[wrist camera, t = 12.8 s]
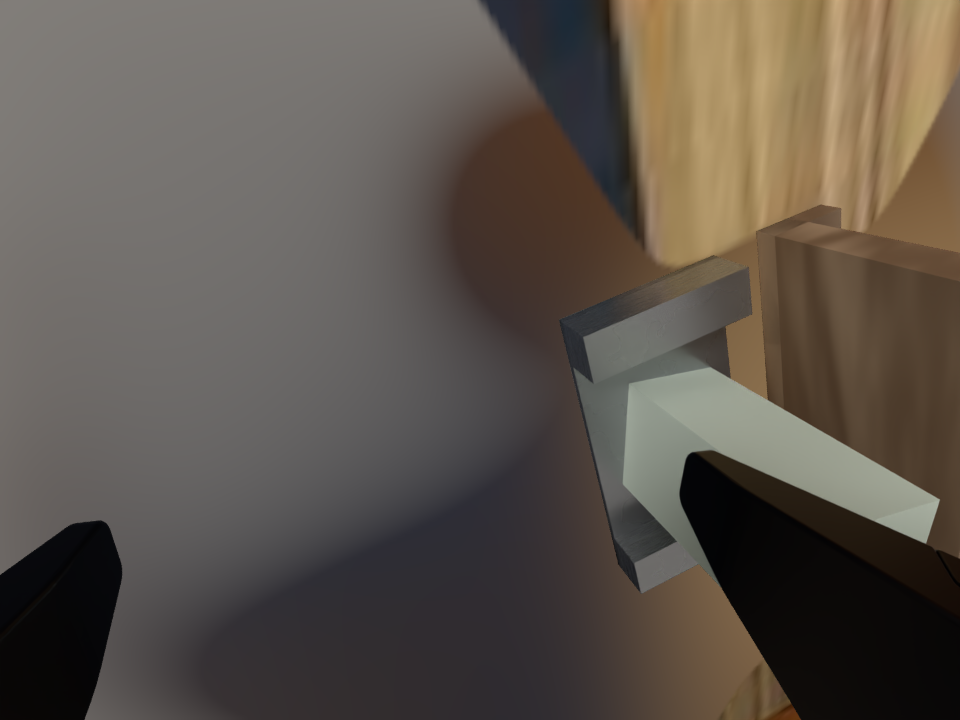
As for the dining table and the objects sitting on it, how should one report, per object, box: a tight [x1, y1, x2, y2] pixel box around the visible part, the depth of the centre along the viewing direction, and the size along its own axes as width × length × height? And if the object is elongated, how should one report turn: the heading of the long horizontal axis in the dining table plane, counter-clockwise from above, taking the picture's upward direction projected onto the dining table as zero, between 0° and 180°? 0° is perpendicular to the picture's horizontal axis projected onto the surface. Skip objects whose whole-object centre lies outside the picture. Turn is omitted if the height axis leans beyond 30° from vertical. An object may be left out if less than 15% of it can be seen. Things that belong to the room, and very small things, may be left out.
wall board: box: [757, 205, 960, 559], centre depth 25 cm, size 3×18×9 cm, turn 17°
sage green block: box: [623, 367, 940, 587], centre depth 22 cm, size 4×6×10 cm
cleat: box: [559, 255, 752, 594], centre depth 26 cm, size 7×14×2 cm, turn 17°
